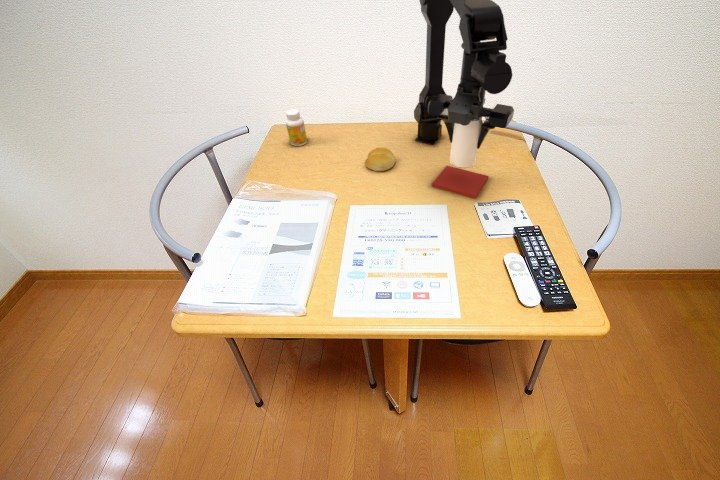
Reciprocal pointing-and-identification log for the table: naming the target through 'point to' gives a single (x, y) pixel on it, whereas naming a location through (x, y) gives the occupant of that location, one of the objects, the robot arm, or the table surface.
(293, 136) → the supplement bottle
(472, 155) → the can
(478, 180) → the pad
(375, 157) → the bread roll
